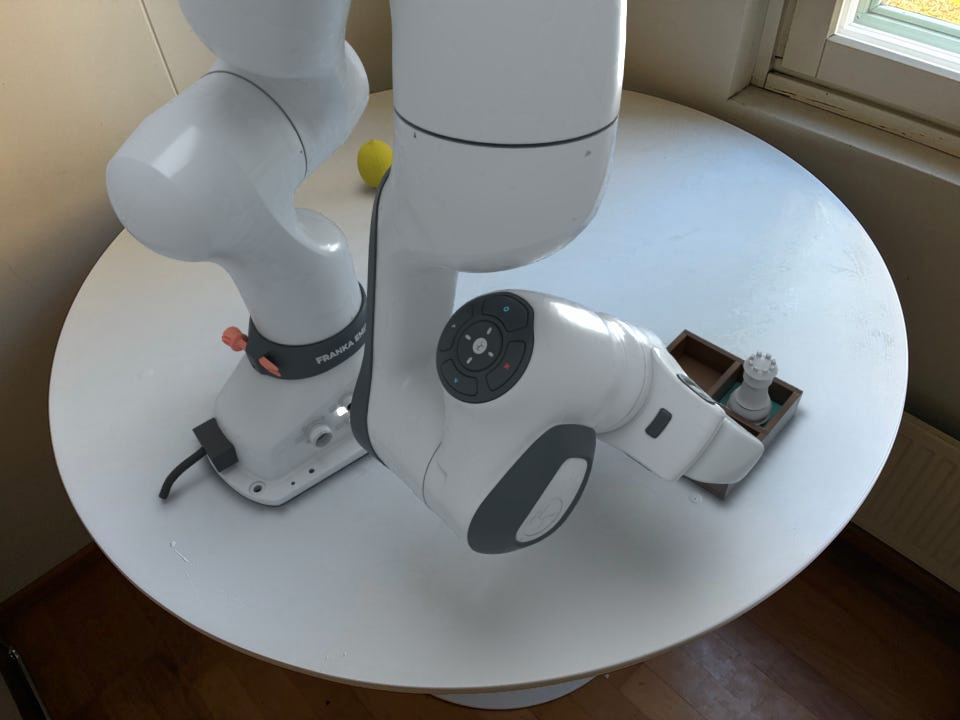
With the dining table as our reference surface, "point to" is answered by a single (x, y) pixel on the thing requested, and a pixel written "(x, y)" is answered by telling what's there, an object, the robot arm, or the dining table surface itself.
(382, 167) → the lemon
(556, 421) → the robot arm
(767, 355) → the rook chess piece
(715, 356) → the grid
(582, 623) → the dining table surface
